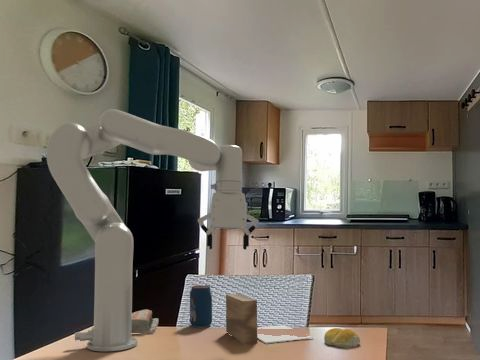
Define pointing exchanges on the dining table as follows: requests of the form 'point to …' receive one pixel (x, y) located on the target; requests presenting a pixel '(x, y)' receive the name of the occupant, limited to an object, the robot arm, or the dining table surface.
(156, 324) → the packaged product
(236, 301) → the wooden block
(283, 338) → the mat
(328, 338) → the bread roll
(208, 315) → the soda can
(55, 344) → the dining table surface
